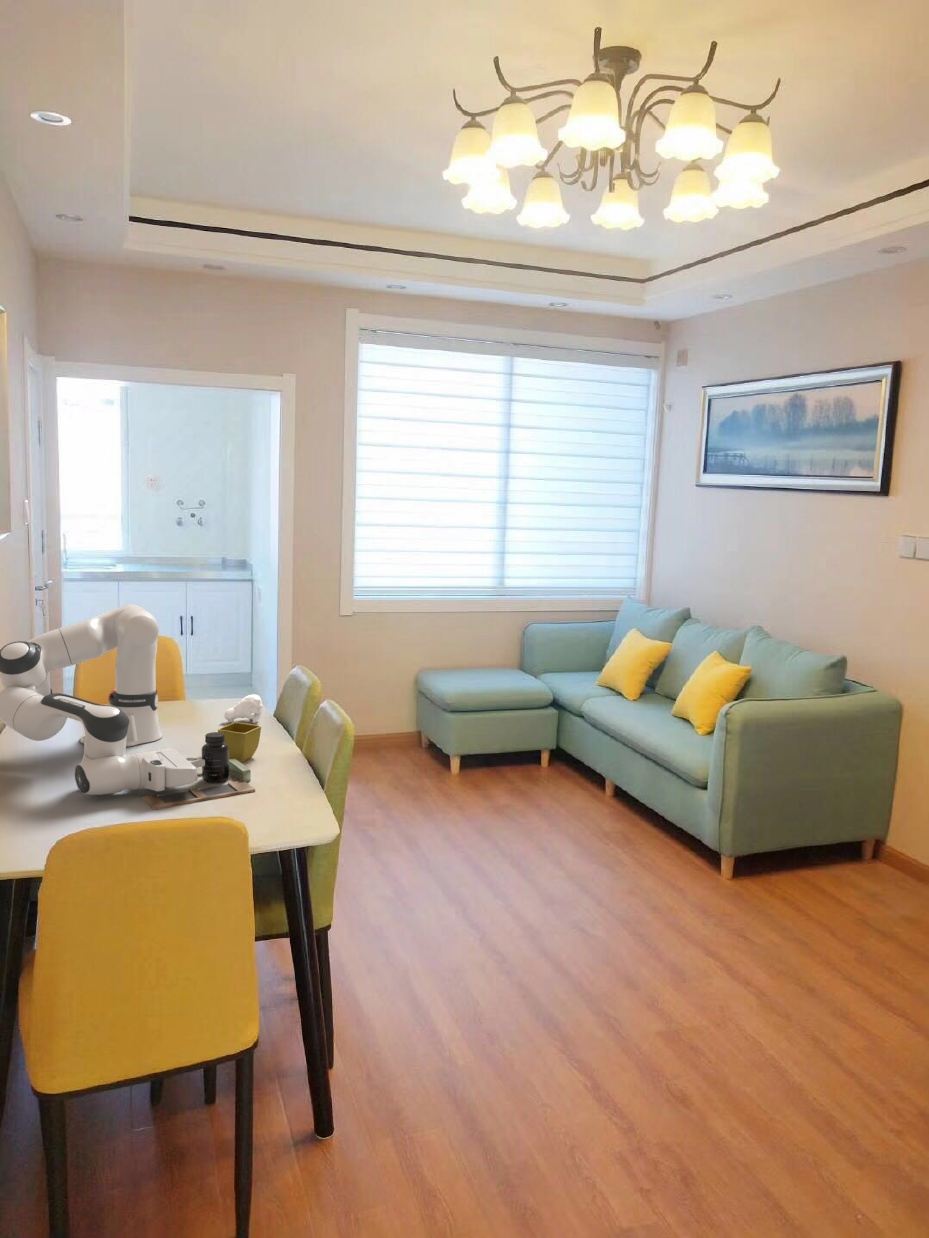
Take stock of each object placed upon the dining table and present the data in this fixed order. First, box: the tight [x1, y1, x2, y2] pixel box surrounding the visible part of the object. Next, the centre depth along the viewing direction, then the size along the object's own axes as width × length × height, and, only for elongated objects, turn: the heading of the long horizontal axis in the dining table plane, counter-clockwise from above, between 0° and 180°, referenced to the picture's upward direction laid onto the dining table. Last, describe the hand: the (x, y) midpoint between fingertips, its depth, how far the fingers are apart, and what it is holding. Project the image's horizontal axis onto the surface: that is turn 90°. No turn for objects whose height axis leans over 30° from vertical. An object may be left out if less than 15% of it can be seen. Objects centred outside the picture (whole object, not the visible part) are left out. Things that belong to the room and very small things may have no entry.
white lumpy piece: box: [223, 694, 263, 724], centre depth 291 cm, size 6×8×12 cm
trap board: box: [143, 759, 256, 810], centre depth 229 cm, size 27×19×3 cm
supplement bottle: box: [201, 731, 230, 784], centre depth 235 cm, size 7×7×12 cm
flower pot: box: [217, 721, 262, 763], centre depth 253 cm, size 9×9×9 cm
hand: (203, 761), depth 233 cm, fingers closed
